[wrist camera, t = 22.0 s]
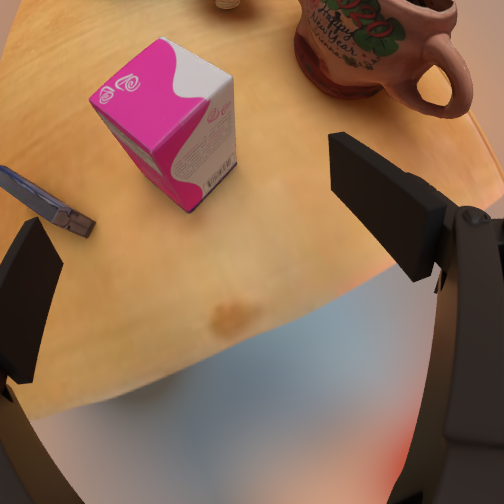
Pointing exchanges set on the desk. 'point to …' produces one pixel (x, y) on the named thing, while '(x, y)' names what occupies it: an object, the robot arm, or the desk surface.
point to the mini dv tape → (45, 203)
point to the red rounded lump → (227, 3)
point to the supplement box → (173, 120)
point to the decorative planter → (382, 50)
